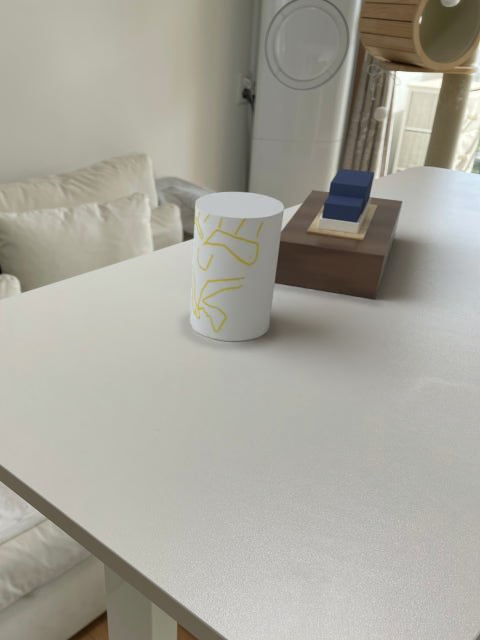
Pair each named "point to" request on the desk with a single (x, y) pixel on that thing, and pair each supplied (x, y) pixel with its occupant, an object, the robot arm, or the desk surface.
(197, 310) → the yellow doodled cylinder
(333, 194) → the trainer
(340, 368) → the desk surface
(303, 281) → the brown block
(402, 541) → the desk surface
